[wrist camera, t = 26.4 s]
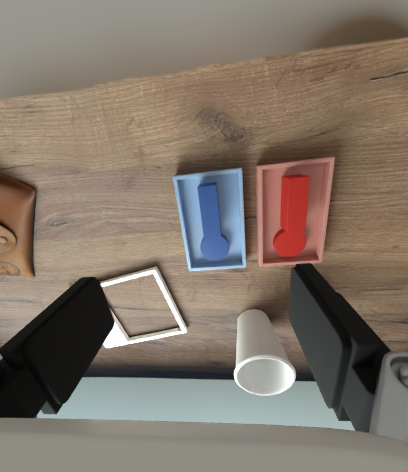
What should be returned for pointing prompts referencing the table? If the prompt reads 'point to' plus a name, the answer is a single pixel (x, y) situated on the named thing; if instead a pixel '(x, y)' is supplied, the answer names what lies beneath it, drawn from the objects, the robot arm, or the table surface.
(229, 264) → the blue tray
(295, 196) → the red spoon
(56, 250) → the table surface
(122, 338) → the photo frame
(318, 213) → the rose tray
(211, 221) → the blue spoon
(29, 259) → the sunglasses case
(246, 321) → the dixie cup
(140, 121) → the table surface
